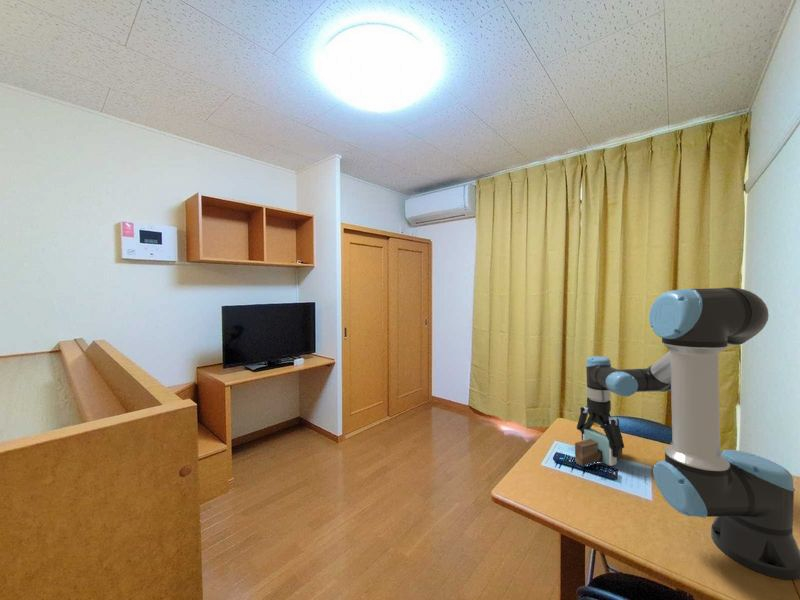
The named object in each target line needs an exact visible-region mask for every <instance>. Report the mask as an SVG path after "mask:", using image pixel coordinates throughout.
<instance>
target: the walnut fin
mask: <svg viewBox="0 0 800 600" xmlns="http://www.w3.org/2000/svg"><path fill="white" fill-rule="evenodd" d="M574 455H575V456H574V460H575V461H574V463H575V462H576V463H578V464H580V465H581V466H583V465H585V464H588V463H594V462H595V463H597V462H603V455H602V451H601V450H599V449H598V443H597V442H595V441H593V440H591V439H588V440H584V441H582V440H581V441H577V442H575V443H574ZM622 457H623V448H622V449H618V457H617V459H619V458H622ZM603 463H604V462H603Z"/></svg>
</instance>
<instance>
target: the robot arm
mask: <svg viewBox="0 0 800 600" xmlns="http://www.w3.org/2000/svg"><path fill="white" fill-rule="evenodd" d="M769 316H770V315H769V308H768V306H767V304H766V303H765V301H764V300H763V299H762V298H761V297H760V296H759V295H757V294H756V293H753V292H752V291H750V290H746V289H743V288H739V287H712V288H710V287H709V288H683V289H673V290H669V291H665V292H663V293H661V294H660V295H659V296H658V297H657V298H656V299H655V300H654V301H653V303H652V305H651V307H650V309H649V314H648V318H649V319H648V320H649V325H650V327H651V328H652V331H653V332H654V334H655V335H656V336H658V337H660V338H661V343H662V345H663V346H665V347H666V348H667V349H669V351H667V352H666V353H665V354H664V355H662V356H661V357H660V358H658V359H657V360H656V361H654V363H652V364H651V365H650V366H648V367H647V368H629V369H627V368H625V369H623V368H622V369H621V368H620V369H618V368H614V367H612V363H611V359H610V358H608V357H606V356H601V355H599V356H598V355H593V356H591V355H590V356H588V357H587V358H586V366H585V368H586V406H581V407H580V415H579V417H578V421H577V425H576V430H577V431H578V430H579V431H580V433H581V441H584V429H590V428H592V427H593V425H594V424H597V425H599V426H600V427H601V429H603V432H604V434H605V435H606V436H607V438H608V440H609V443H610V445H611V447H609V465H608V466H611V467H612V466H616V465H617V464H618V463H617V461H618V460H617V459H618V458H617V457H618V449H622V450H623V449H624V448H625V444H624V440H623V435H622V433H621V428H620V419H619V418H614V417H612V416H611V414H610V413H611V410H612V401H611V399H612V398H611V397H612V396H611V392H612V393H613V394H616V395H618V396H621V397H631V396H632V395H634V394H635V393H643V392H644V393H646V392H649V393H651V392H661V393H664V392H670V400H671V431H672V432H671V435H672V438H671V439H672V440H671V442H672V445H671V444H670V445H668V446H666V447H665V449H664V460H659V461H657V462H656V463H655V464H654V465H653V469H652V470H653V471H652V473H653V474H652V475H653V478H654V481H655V485H656V487H657V488H658V491H659V493H660V494H661V495H662V497H663V499H664V500H665V501H666V502H667V503H668V504H669V506H670V507H672V509H674V510H675V511H676V512H677V513H679V514H681V515H683V516H687V517H698V518H700V519H701V518H702V519H704V518H706V517H711V518H712V517H714V518H715V519H714V520H713V522H712V524H711V527H710V536H711V539H712V540H711V541H713V543H714V544H715V546H716V547H717V548H718V549H719V550H720V551H721V552H722V553H724V554H725V555H727V556H728V557H729V558H730V559H732V560H734V561H736V562H737V563H739V564H740V565H742V566H744V567H746V568H748V569H751V570H753V571H755V572H758V573H760V574H762V575H766V576H768V577H773V578H775V579H780V580H782V579H783V580H791V581H792V580H798V579H800V548H799V546H798V543H797V541H796V539H795V536H794V534H793V531H794V530H793V529H794V528H793V526H794V524H793V523H794V505H795V503H794V500H795V498H794V497H795V492H796V489H795V488H794V487H795V486H794V478H793V475H792V474H791V473H790V471H789V470H788V469H786V468H785V467H784V466H782V465H781V464H779V463H776V462H774V461H772V460H770V459H767V458H765V457H762V456H760V455H756V454H753V453H750V452H746V451H741V450H737V449H723V450H722V451H721V417H720V416H721V414H720V413H721V412H720V411H721V410H720V369H719V367H720V366H719V365H720V364H719V354H720V353H722V352H724V351H725V350H726V349H728V348H729V347H731V346H741V345H742V344H744V343H746V342H748V341H749V340H751V339H753V338H754V337H755V336H757V335H758V334H759V333H761V331H762V330H763V329H764V328H765V326H766V325H767V323H768V320H769Z"/></svg>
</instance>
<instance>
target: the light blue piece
mask: <svg viewBox="0 0 800 600" xmlns="http://www.w3.org/2000/svg"><path fill="white" fill-rule="evenodd" d="M588 439H591V440H593V441H595V442H597V443H598V449H599V450H601V451H602V455H603V463H604V465H605V464H606V465H607V466H610V465H609V447H611V445H610V443H609V440H608V438H607V436H606V434H605V433H602V432H600V431H598V430H596V429H593V428H592V427H591V428H590V429H584V440H588Z"/></svg>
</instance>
